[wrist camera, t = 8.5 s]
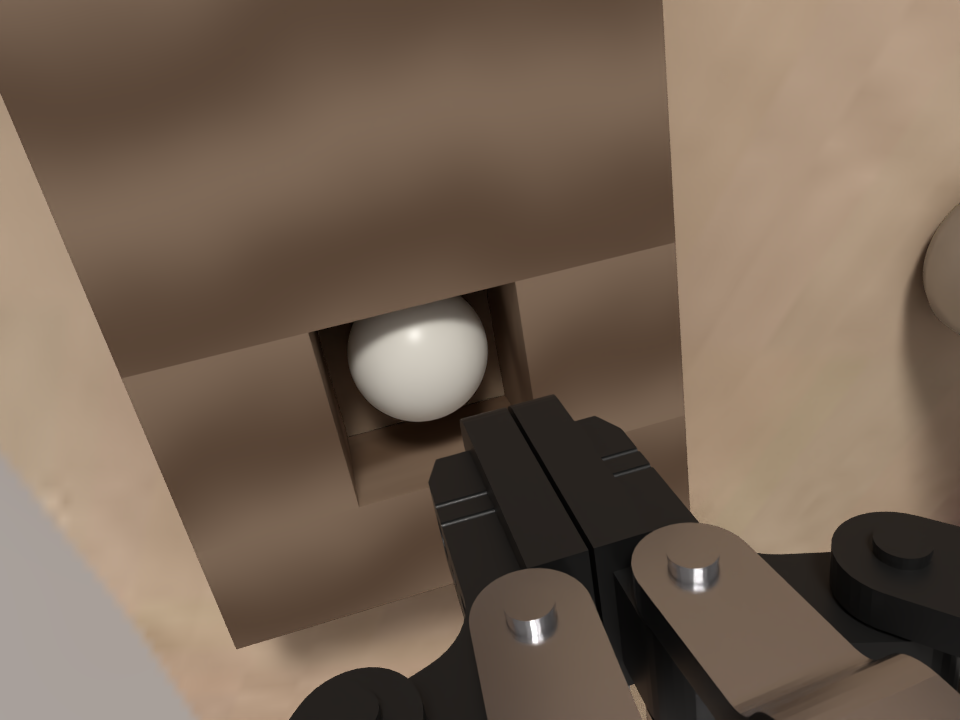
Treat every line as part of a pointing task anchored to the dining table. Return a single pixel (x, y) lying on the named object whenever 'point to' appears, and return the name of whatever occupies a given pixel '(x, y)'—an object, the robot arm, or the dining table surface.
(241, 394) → the hole board
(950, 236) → the plastic bottle
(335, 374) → the dining table surface
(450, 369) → the ball
